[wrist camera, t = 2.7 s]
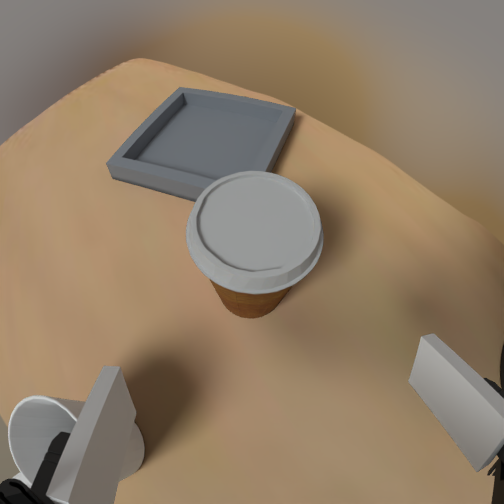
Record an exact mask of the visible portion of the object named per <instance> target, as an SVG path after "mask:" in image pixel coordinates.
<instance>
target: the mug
mask: <svg viewBox="0 0 504 504" xmlns="http://www.w3.org/2000/svg"><path fill="white" fill-rule="evenodd" d="M84 404H85V402H83V401H75V400H68V399H61V398H55V397H49V396H40V395H33V396H30V397H27V398H24V399H23V400H22V401H21V402H19V403H18V404H17V405H16V407H15V409H14V410H13V412H12V414H11V417H10V421H9V427H8V439H9V445H10V450H11V453H12V456H13V458H14V461H15V463H16V465H17V467H18V469H19V470H20V473H18V474H17V475H15V476H14V477H13V478H15V479H18V480H21V481H22V482H23V483H25V484H26V485H27V486H28V487H29V488H31V486H32V484H33V481H34V479H35V477H36V474H37V472H38V470H39V467H40V465H41V463H42V461H44V456H45V454H46V452H48V448H49V446H50V444H51V441H52V440H53V439H54V438H55V437H56V436H57V435H58V434H59V433H60V432H61V431H62V432H67V433H71V432H72V430H73V428H74V426H75V424H76V421H77V419H78V417H79V415H80V413H81V411H82V409H83V407H84ZM144 450H145V447H144V442H143V437H142V435H141V432H140V430H139V428H138V426H137V425H136V424H135V422H134V424H133V427H132V431H131V435H130V438H129V442H128V446H127V450H126V454H125V458H124V462H123V466H122V470H121V474H120V478H119V481H121V480H123V479H125V478H127V477H129V476H130V475H132V474H134V473H135V472H136V471H137V470H138V469H139V467H140V466H141V464H142V461H143V458H144Z"/></svg>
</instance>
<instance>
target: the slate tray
mask: <svg viewBox="0 0 504 504" xmlns="http://www.w3.org/2000/svg"><path fill="white" fill-rule="evenodd" d="M295 112H296V108H292V107H288V106H284V105H280V104H276V103H272V102H267V101H262V100H258V99H253V98H248V97H243V96H237V95H231V94H226V93H219V92H213V91H206V90H199V89H191V88H183V87H179V88H178V89H177V90H176V91H175V92H174V93H173V94H172V95H171V96H170V97H168V98H167V99H166V100H165V101H164V102H163V103H162V104H161V105H160V106H159V107H158V108H157V109H156V110H155V111H154V112H153V113H152V114H151V115H150V116H149V117H148V118H147V119H146V120H145V121H144V122H143V123H142V124H141V125H140V126H139V127H138V128H137V129H136V130H135V131H134V132H133V134H132V135H131V136H130V137H129V138H128V139H127V140H126V141H125V142H124V143H123V144H122V146H121V147H120V148H119V149H118V150H117V151H116V152H115V154H114V155H113V156H112V157H111V158H110V159H109V161H108V162H107V163H106V165H107V167H108V169H109V172H110V174H111V176H112V178H113V179H116V180H119V181H123V182H127V183H130V184H134V185H138V186H141V187H145V188H148V189H152V190H155V191H159V192H163V193H166V194H170V195H173V196H177V197H180V198H183V199H187V200H190V201H194V202H196V201H197V199H198V197H199V196H200V195H201V194H202V192H203V191H204V190H205V189H206V188H207V187H208V186H210V185H211V184H212V183H213V182H215V181H217V180H219V179H220V178H222V177H225V176H228V175H232V174H235V173H238V172H245V171H263V172H270V173H271V171H272V169H273V167H274V165H275V162H276V160H277V158H278V156H279V154H280V152H281V150H282V147H283V145H284V143H285V141H286V139H287V137H288V135H289V132H290V130H291V128H292V126H293V124H294V118H295Z"/></svg>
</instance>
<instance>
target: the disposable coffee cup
mask: <svg viewBox="0 0 504 504" xmlns="http://www.w3.org/2000/svg"><path fill="white" fill-rule="evenodd" d="M186 242H187V246H188V249H189V252H190V255H191V257H192V259H193V260H194V262H195V264H196V265H197V267H198V268H199V269H200V270H201V271H202V273H203V274H204V275H205V276H207V277H208V278H209V279H210V281H211V283H212V284H213V286H214V288H215V290H216V291H217V293H218V295H219V297H220V298H221V300H222V302H223V304H224V305H225V306H226V308H227V309H228V310H229V311H230V312H232V313H234V314H235V315H237V316H240V317H244V318H258V317H262V316H264V315H266V314H268V313H270V312H271V311H272V310H273V309H274V308H275V307H276V306H277V305H278V303H279V302H280V301H281V300H282V298H283V297H284V296H285V295H286V293H287V292H288V291H289V290H290V288H291V287H292V286H293V285H294V284H296V283H297V282H299V281H300V280H301V279H303V278H304V277H305V276H306V275H307V274H308V273H309V272H310V271H311V270H312V269H313V267H314V266H315V264H316V263H317V261H318V259H319V256H320V254H321V251H322V247H323V228H322V223H321V220H320V216H319V213H318V210H317V207H316V205H315V203H314V202H313V200H312V199H311V197H310V196H309V195H308V194H307V193H306V192H305V191H304V189H303V188H301V187H300V186H299V185H297V184H296V183H294V182H293V181H291V180H289V179H287V178H285V177H282V176H280V175H277V174H274V173H270V172H263V171H245V172H238V173H235V174H232V175H228V176H225V177H222V178H220V179H219V180H217V181H215V182H213V183H212V184H211V185H210V186H208V187H207V188H206V189H205V190H204V191H203V192H202V194H201V195H200V196H199V197H198V199H197V201H196V203H195V205H194V207H193V209H192V211H191V214H190V216H189V218H188V222H187V227H186Z"/></svg>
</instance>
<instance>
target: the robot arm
mask: <svg viewBox="0 0 504 504" xmlns="http://www.w3.org/2000/svg"><path fill="white" fill-rule="evenodd" d="M408 382H409V383H410V385H411V386H412V387H413V388H414V390H415V391H416V392H417V393H418V395H419V396H420V397H421V398H422V400H423V401H424V402H425V404H426V405H427V406H428V407H429V409H430V410H431V411H432V413H433V414H434V415H435V417H436V418H437V419H438V420H439V422H440V423H441V424H442V426H443V427H444V428H445V430H446V431H447V432H448V434H449V435H450V436H451V438H452V439H453V440H454V442H455V443H456V444H457V446H458V447H459V448H460V450H461V451H462V452H463V454H464V455H465V457H466V458H467V459H468V461H469V462H470V463H471V465H472V466H473V468H474V469H475V470H476V472H478V471H480V470H481V469H483V468H484V467H486V466H487V465H489V464H490V463H491V461H492V460H493V459H494V457H495V456H496V455H497V456H498V457H499V459H498V460H497V461H496V463H495V464H494V465H493V466H492V468H491V469H490V470H489V471H488V474H487V475H490V474H491V473H492V472H493V470H494V469H495V468H496V470H495V472H494V473H493V475H492V476H495V481H494V490H493V497H492V504H504V347H503V351H502V358H501V385H502V389H501V388H500V387H499V386H498V385H497V384H496V383H495V382H493V381H491V380H489V379H487V378H484V379H483V378H482V377H481V376H480V375H479V374H478V373H477V372H476V371H474V370H473V369H472V368H471V367H470V366H469V365H468V364H467V363H466V362H465V361H464V360H463V359H462V358H460V357H459V356H458V355H457V354H456V353H455V352H454V351H453V350H452V349H450V348H449V347H448V346H447V345H446V344H445V343H444V342H443V341H442V340H440V339H439V338H438V337H437V336H436V335H435V334H434V333H432V334H428V335H424V336H421V339H420V343H419V347H418V351H417V354H416V358H415V361H414V365H413V368H412V371H411V375H410V378H409V381H408ZM136 413H137V412H136V410H135V407H134V405H133V402H132V399H131V397H130V394H129V391H128V388H127V385H126V382H125V380H124V377H123V374H122V371H121V367H118V366H104V367H103V368H102V370H101V372H100V374H99V376H98V378H97V380H96V382H95V384H94V386H93V388H92V390H91V392H90V394H89V396H88V398H87V400H86V402H85V404H84V407H83V409H82V411H81V413H80V415H79V417H78V419H77V421H76V424H75V426H74V428H73V430H72V432H71V433H67V432H62V431H61V432H60V433H59V434H58V435H57V436H56V437H55V438H54V439H53V440H52V441H51V444H50V446H49V448H48V452H46V454H45V456H44V461H42V463H41V465H40V467H39V470H38V472H37V474H36V477H35V479H34V481H33V484H32V486H31V488H29V487H28V486H27V485H26V484H25V483H23V482H22V481H21V480H18V479H15V478H12V479H7V480H5V481H3V482H2V483H1V484H0V504H114V500H115V495H116V491H117V487H118V482H119V478H120V474H121V470H122V466H123V462H124V458H125V454H126V450H127V446H128V442H129V438H130V435H131V431H132V427H133V424H134V420H135V417H136Z"/></svg>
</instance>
